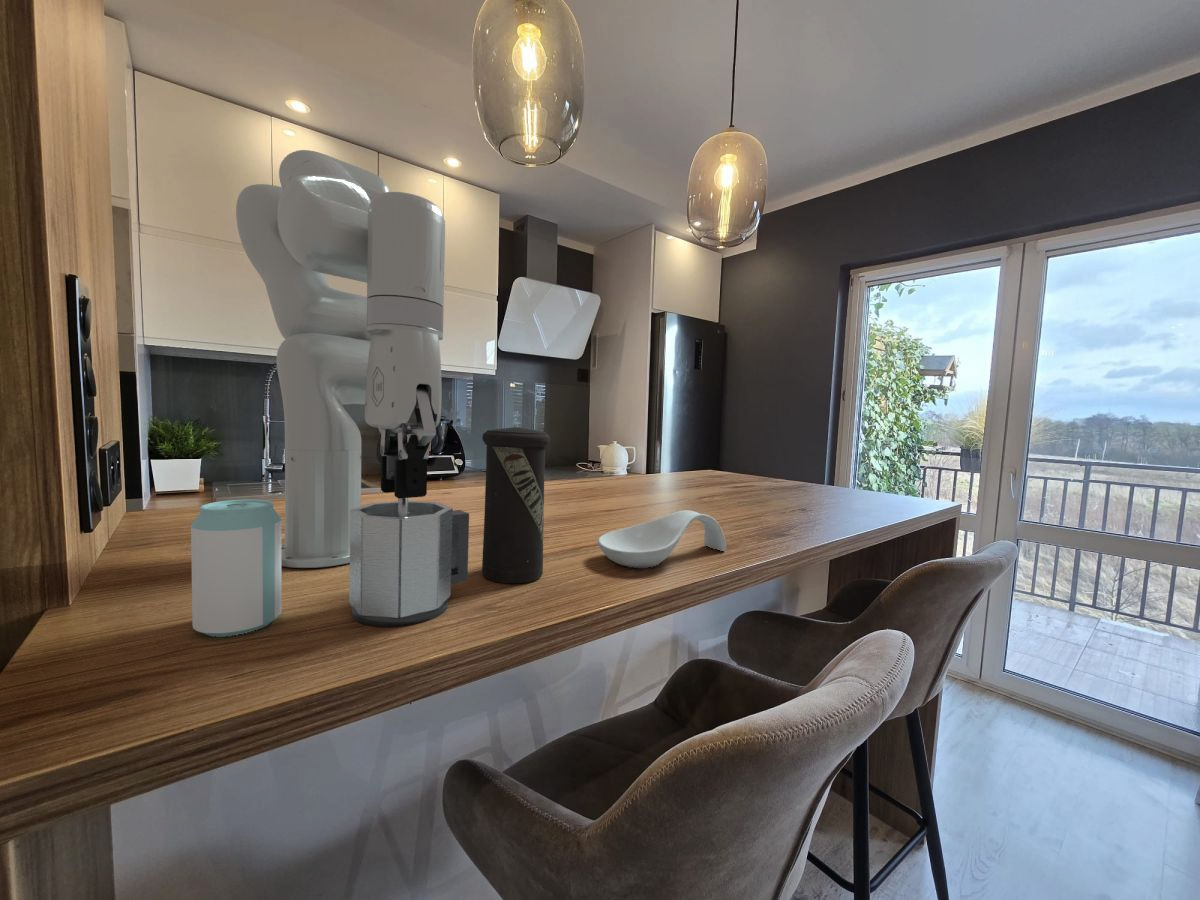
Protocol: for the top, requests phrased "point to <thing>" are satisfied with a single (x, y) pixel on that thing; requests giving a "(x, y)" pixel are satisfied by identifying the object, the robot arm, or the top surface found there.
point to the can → (235, 567)
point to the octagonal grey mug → (405, 561)
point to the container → (514, 505)
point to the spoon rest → (657, 539)
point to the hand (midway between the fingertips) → (403, 492)
